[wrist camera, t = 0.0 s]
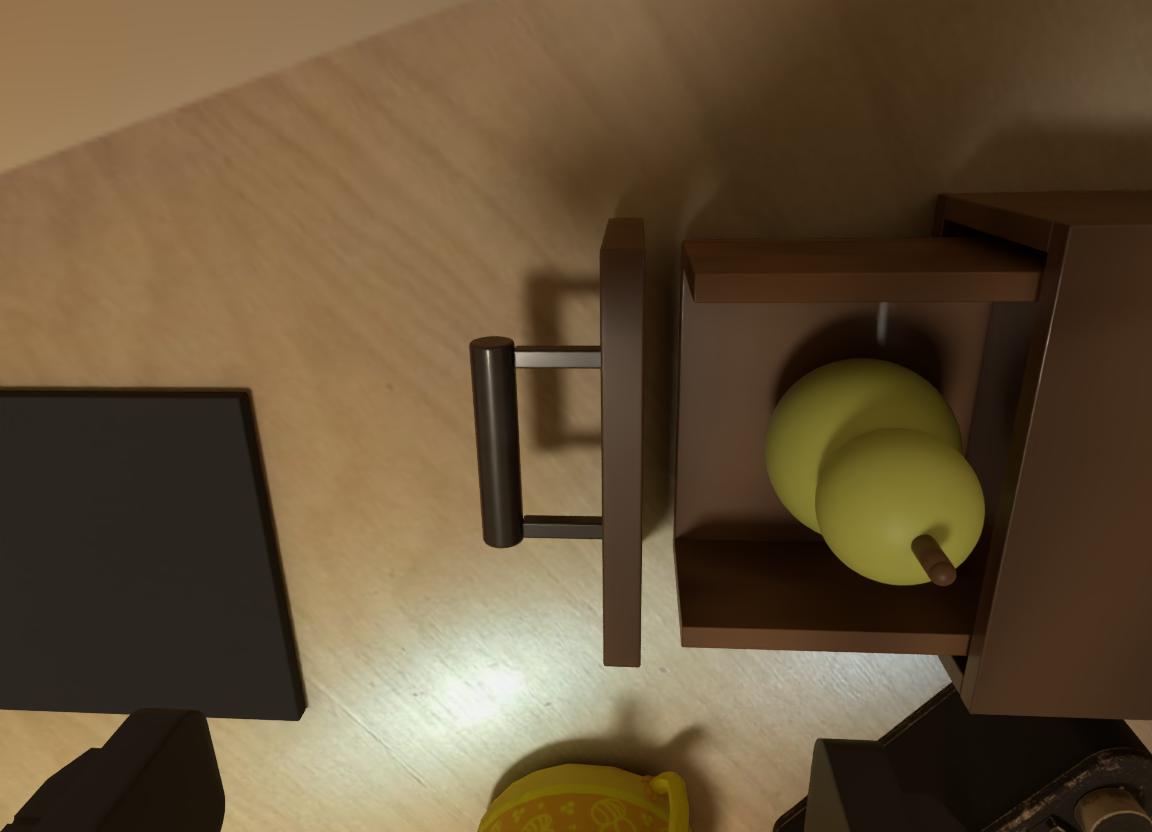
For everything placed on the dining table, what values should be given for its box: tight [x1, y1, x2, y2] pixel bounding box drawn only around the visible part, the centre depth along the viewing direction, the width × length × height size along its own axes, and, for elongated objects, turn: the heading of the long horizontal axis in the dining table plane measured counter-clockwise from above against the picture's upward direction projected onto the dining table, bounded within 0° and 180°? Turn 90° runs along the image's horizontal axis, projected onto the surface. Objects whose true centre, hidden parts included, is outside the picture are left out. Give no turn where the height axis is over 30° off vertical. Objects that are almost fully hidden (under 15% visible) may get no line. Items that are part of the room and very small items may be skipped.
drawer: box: [469, 218, 1048, 667], centre depth 25 cm, size 18×13×7 cm
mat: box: [0, 391, 305, 721], centre depth 34 cm, size 16×20×1 cm
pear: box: [765, 358, 985, 586], centre depth 22 cm, size 6×6×11 cm
